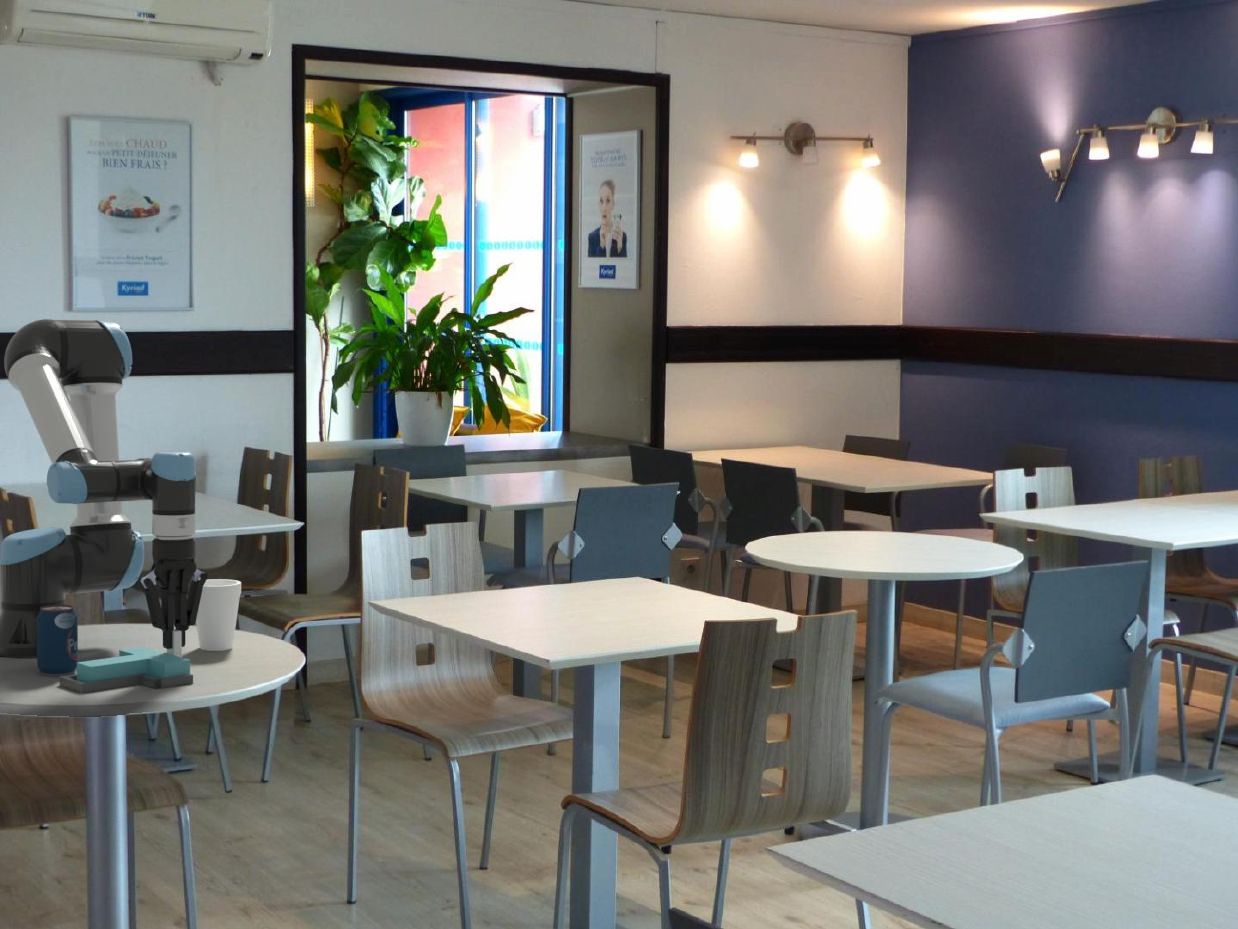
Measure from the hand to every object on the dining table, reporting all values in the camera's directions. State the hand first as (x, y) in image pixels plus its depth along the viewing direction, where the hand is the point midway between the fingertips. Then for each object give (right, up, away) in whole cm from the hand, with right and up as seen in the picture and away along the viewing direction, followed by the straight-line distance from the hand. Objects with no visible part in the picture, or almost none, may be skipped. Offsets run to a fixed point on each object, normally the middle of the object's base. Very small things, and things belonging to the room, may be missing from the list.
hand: (174, 665), depth 281 cm
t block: (-7, -2, -7) cm, 10 cm away
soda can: (-21, -1, -1) cm, 21 cm away
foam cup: (+1, 0, +25) cm, 25 cm away
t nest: (-7, -2, -7) cm, 10 cm away
